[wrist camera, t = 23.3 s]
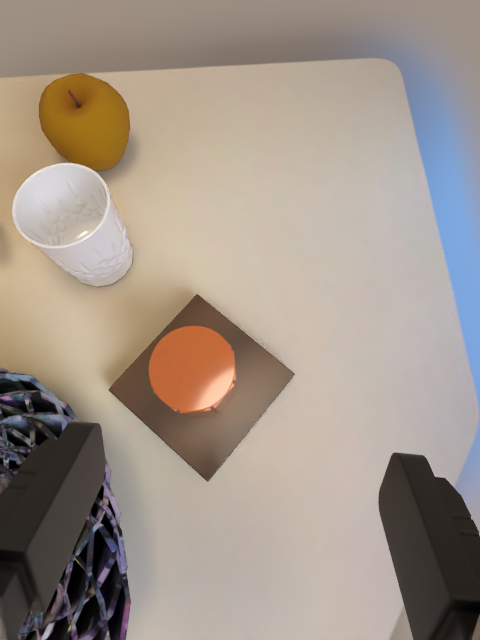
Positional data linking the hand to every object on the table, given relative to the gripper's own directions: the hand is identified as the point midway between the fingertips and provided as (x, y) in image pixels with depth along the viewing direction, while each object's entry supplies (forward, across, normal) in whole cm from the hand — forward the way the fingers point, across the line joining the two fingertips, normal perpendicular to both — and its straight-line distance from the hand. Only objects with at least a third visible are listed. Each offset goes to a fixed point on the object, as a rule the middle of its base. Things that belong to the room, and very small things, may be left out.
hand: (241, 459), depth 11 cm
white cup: (+31, +16, +7) cm, 36 cm away
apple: (+40, +18, -2) cm, 44 cm away
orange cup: (+21, +4, +14) cm, 25 cm away
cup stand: (+22, +4, +15) cm, 27 cm away
